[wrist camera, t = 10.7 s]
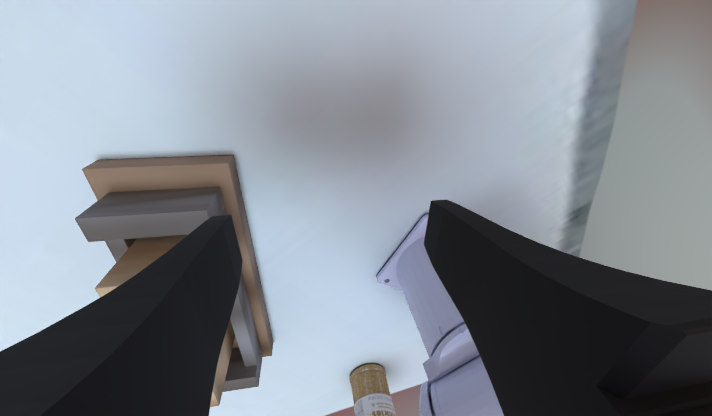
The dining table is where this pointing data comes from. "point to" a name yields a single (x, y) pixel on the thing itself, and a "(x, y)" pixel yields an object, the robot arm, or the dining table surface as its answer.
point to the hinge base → (183, 231)
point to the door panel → (139, 259)
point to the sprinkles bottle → (371, 392)
